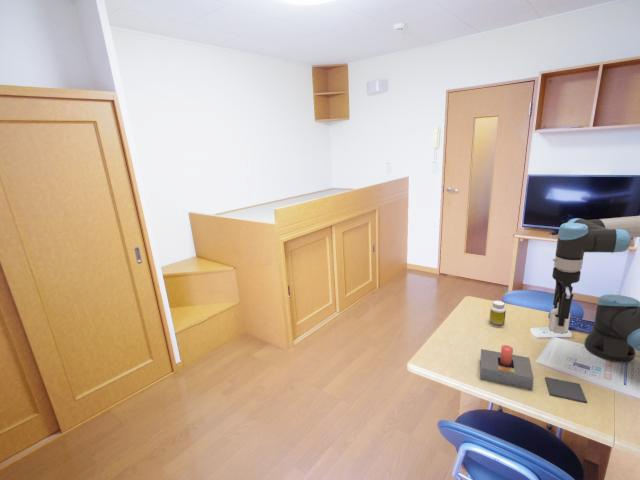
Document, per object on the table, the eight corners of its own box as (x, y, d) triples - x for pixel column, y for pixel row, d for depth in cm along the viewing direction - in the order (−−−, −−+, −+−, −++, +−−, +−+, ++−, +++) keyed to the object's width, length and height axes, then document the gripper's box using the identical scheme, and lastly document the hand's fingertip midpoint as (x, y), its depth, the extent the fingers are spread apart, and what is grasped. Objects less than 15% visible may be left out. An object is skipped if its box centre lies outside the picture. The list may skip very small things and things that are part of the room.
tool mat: (579, 385, 115) (579, 383, 115) (586, 403, 107) (587, 401, 107) (545, 378, 119) (545, 376, 119) (549, 395, 112) (549, 393, 111)
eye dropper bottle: (565, 336, 116) (569, 304, 113) (546, 329, 120) (550, 299, 117) (569, 331, 118) (574, 300, 115) (551, 325, 123) (555, 295, 119)
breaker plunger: (510, 361, 122) (512, 346, 120) (511, 367, 119) (513, 352, 117) (499, 359, 124) (501, 344, 122) (500, 365, 121) (501, 350, 119)
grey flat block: (527, 369, 124) (529, 357, 123) (532, 390, 114) (533, 377, 113) (480, 360, 131) (481, 348, 130) (480, 379, 121) (481, 367, 119)
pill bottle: (505, 328, 151) (507, 306, 148) (490, 327, 153) (492, 305, 150) (502, 321, 157) (504, 300, 154) (488, 320, 159) (490, 299, 156)
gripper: (549, 259, 122) (541, 317, 128) (558, 276, 107) (549, 340, 114) (574, 261, 118) (565, 320, 125) (587, 279, 104) (576, 344, 111)
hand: (557, 329), depth 119 cm, fingers closed on eye dropper bottle, 3 cm apart
